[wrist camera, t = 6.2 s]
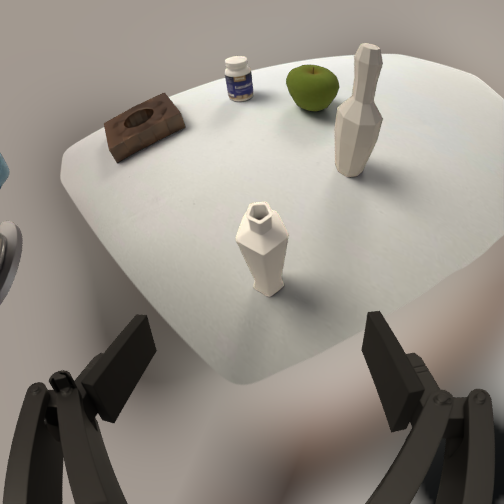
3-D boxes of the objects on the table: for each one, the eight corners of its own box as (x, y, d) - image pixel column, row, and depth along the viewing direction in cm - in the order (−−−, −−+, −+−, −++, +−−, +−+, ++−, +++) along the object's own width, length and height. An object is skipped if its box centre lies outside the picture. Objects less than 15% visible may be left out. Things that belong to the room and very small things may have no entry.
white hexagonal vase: (244, 273, 36) (222, 201, 23) (276, 261, 36) (271, 183, 23) (257, 304, 34) (239, 245, 20) (290, 291, 34) (294, 225, 21)
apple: (280, 98, 54) (278, 60, 45) (323, 92, 54) (325, 56, 45) (297, 124, 49) (297, 81, 40) (345, 117, 49) (350, 77, 40)
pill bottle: (239, 105, 54) (232, 66, 45) (224, 97, 56) (216, 61, 48) (259, 95, 55) (255, 58, 47) (243, 88, 58) (238, 53, 49)
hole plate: (117, 163, 50) (109, 150, 46) (110, 135, 56) (103, 123, 52) (185, 127, 52) (180, 113, 49) (168, 104, 58) (164, 92, 54)
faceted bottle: (351, 150, 44) (369, 37, 25) (374, 173, 42) (405, 56, 22) (323, 161, 44) (333, 39, 24) (345, 186, 41) (370, 57, 21)
